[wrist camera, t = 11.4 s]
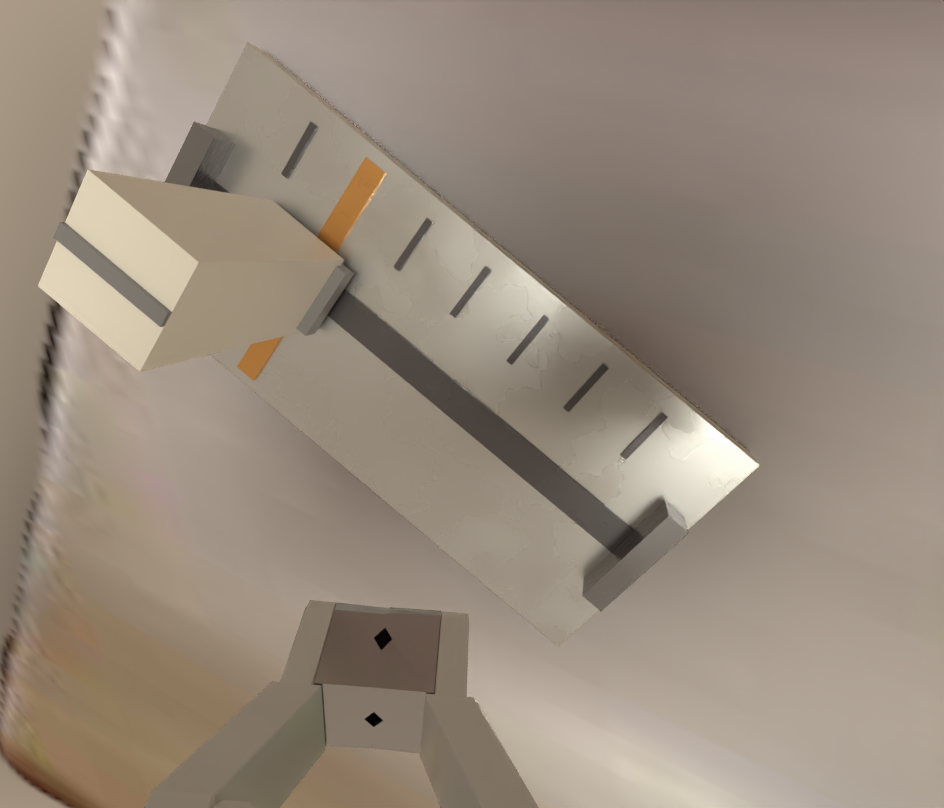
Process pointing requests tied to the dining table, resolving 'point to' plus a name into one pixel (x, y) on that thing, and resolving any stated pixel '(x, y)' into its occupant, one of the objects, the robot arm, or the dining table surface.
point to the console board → (460, 370)
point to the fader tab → (187, 269)
